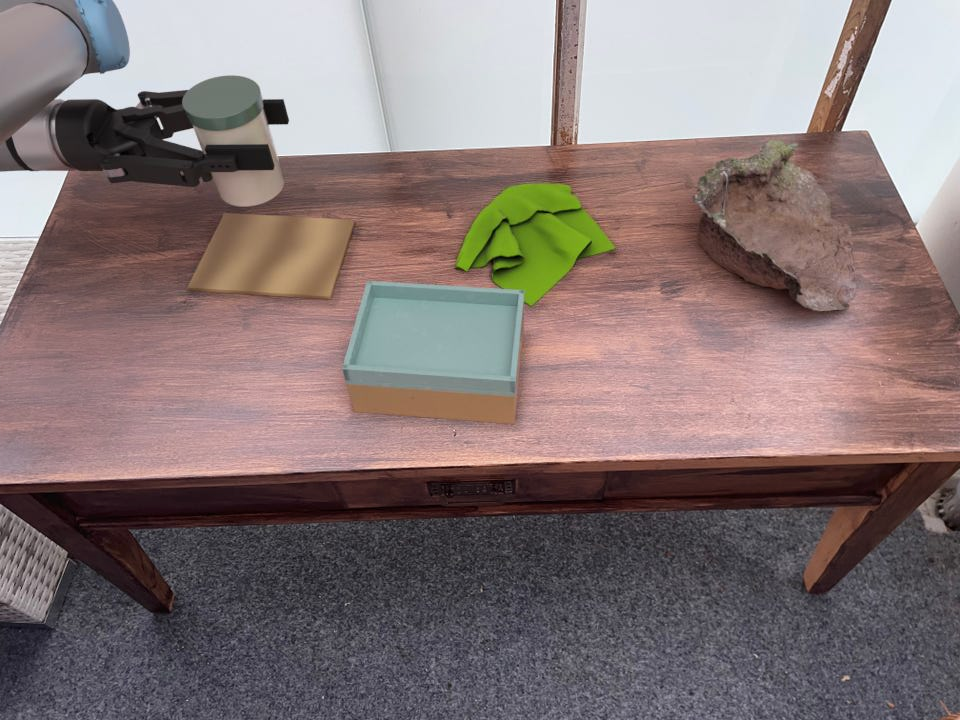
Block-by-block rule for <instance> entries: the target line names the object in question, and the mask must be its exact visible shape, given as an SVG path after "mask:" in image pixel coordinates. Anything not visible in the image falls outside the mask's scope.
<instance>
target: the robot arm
mask: <svg viewBox="0 0 960 720" xmlns="http://www.w3.org/2000/svg"><path fill="white" fill-rule="evenodd" d="M130 47H131V46H130V41H129V35H128V32H127V29H126V26H125V23H124V20H123V17H122V15H121V12H120V10H119V8H118V7H117V5H116V3H115V2H114V0H0V173H1V172H4V173H5V172H26V171H29V172H43V171H44V172H73V171H79V172H104V175H105V176H106V178H107V180H108V182H109V183H110V184H119V183H128V182H134V183H143V184H145V183H146V184H155V185H167V186H177V187H186V188H187V187H188V188H195V187H198V186H199V185H200V183H201V181H200V179H202V182H203V183H208V182H209V183H210V182H211V181H212V180H213V177H212V174H211V172H235V171H241V170H274V166H275V165H274V162H273V159H272V155H271V152H270V149H269V145H268V144H244V145H206V147H205V152H206V154H204V153H203V151H202V149H197V148H194V147H190V146H186V145H182V144H179V143H176V142H172V141H169V140H167V139H171V138H173V136H174V134H175V133H179V132H183V131H189V130H191V129H193V126H192V124H191V123H190V122H189V120H188V118H187V116H186V113H185V111H184V108H183V105H182V100H183V97H184V95H185V94H186V92H187V91H188V90H189V89H182V90H173V91H172V90H171V91H162V92H157V91H147V90H144V91H143V90H142V91H140V92H138V93H137V98H138V100H139V102H138V103H137V105H136V106H128V107H127V106H126V107H123V108H119V109H117V108H115V107H112V106H111V105H109V104H108V103H107V102H105V101H103V100H101V99H97V98H85V99H84V98H83V99H77V98H76V99H75V98H74V99H67V100H64V99H62V98H58V97H59V96H60V95H62V94H63V92H65V91H66V90H67V89H69V87H70V86H72V85H73V84H74V83H75V82H76V81H78V80H79V79H81V78H82V77H83V76H85V75H90V74H100V75H104V74H105V73H108V72H112V71H117V70H121V69H124V68H126V67H127V65H128V64H129V61H130V57H131V48H130ZM284 99H285V98H272V99H271V98H267V99H264V98H263V101H264V106H263V107H264V111H265V114H266V118H267V121H268V124H269V126H270V125H271V126H272V125H273V126H274V125H277V126H278V125H281V126H282V125H289V124H290V123H289V122H290V119H289V114H288V111H287V107H286V103H285V100H284ZM158 119H159V121H158ZM159 122H160V124H161V125H160V124H159ZM161 126H162V128H161ZM181 172H182V173H181Z"/></svg>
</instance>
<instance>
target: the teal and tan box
mask: <svg viewBox="0 0 960 720" xmlns="http://www.w3.org/2000/svg"><path fill="white" fill-rule="evenodd" d="M524 296H525V290H512V289H502V288H494V287H478V286H464V285H463V286H461V285H444V284H428V283H427V284H426V283H412V282H411V283H410V282H396V281H394V282H393V281H380V280H379V281H378V280H377V281H376V280H367V281H366V283H365V287H364V289H363V294H362V297H361V301H360V305H359V308H358V310H357V315H356V317H355V321H354V324H353V328H352V332H351V334H350V335H351V336H350V339H349V341H348V342H349V343H348V345H347V346H348V347H347V349H346V353H345V356H344V360H343V363H342V366H341V371H342V374H343V377H344V381H345V384H346V388H347V391H348V394H349V397H350V403H351V405H352V408H353V412H354V413H362V414H363V413H366V414H375V415H377V414H379V415H388V416H389V415H391V416H404V417H417V418H427V419H428V418H429V419H441V420H453V421H455V420H456V421H467V422H479V423H480V422H481V423H492V424H493V423H494V424H509V425H515V424H516V417H517V407H518V405H517V404H518V395H519V385H520V376H521V375H520V374H521V364H522V355H523V354H522V353H523V345H524V344H523V343H524V341H523V340H524V324H525V323H524V322H525V302H524Z"/></svg>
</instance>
